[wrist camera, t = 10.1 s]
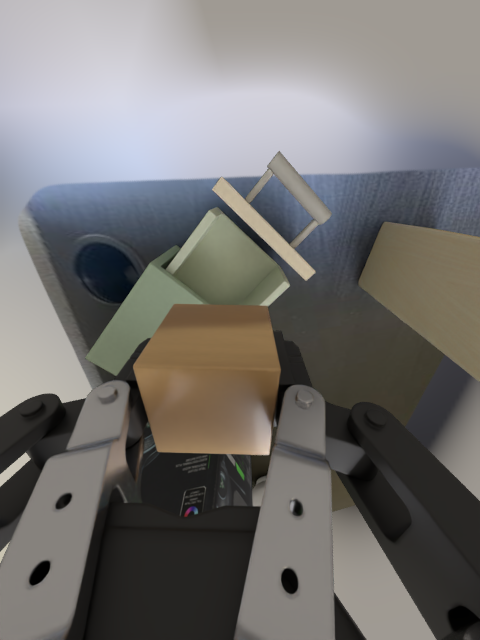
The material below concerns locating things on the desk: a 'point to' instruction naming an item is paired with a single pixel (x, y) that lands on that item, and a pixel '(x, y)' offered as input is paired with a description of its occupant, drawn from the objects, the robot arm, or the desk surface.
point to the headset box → (194, 479)
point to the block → (211, 380)
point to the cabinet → (141, 313)
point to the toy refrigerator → (430, 286)
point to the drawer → (245, 245)
